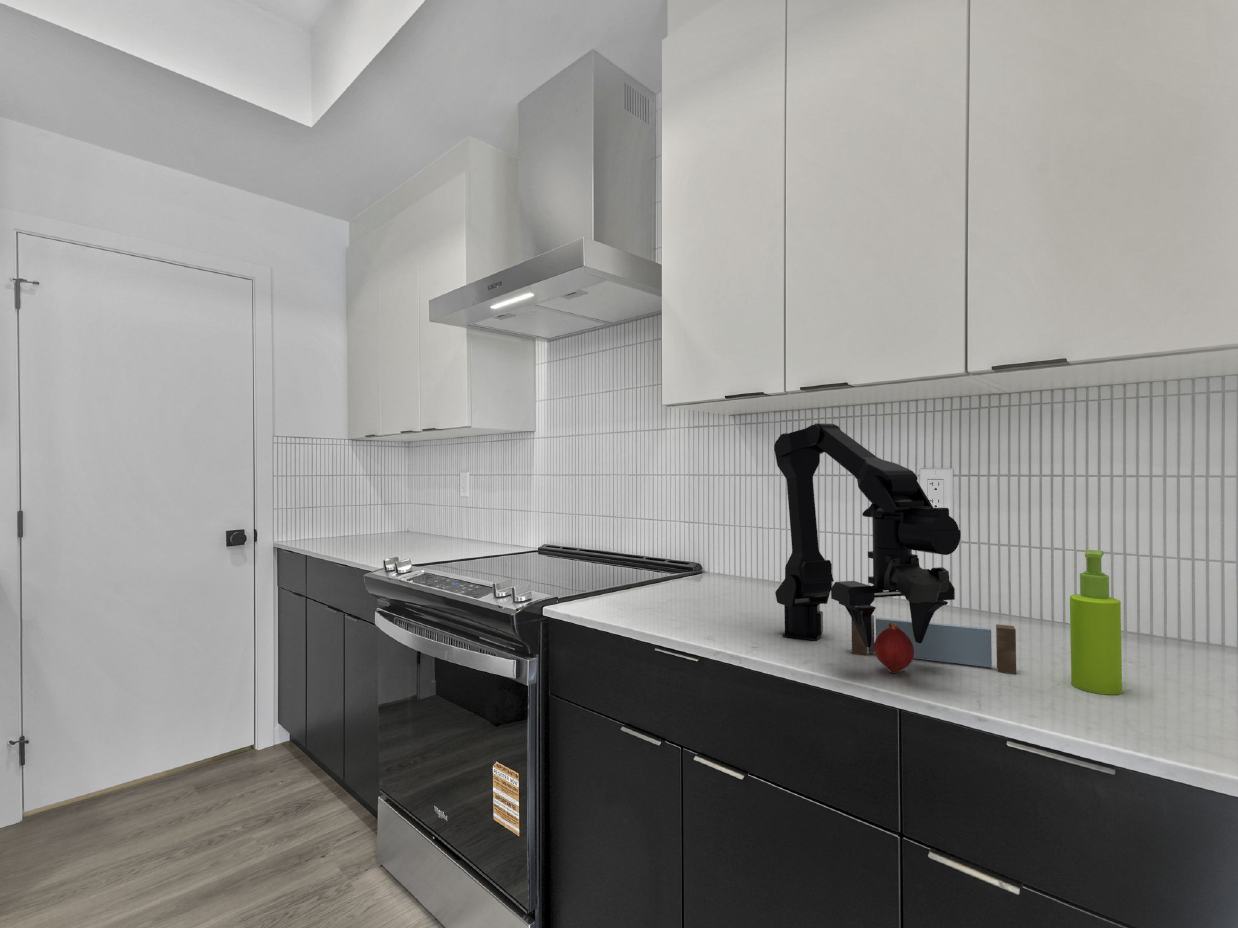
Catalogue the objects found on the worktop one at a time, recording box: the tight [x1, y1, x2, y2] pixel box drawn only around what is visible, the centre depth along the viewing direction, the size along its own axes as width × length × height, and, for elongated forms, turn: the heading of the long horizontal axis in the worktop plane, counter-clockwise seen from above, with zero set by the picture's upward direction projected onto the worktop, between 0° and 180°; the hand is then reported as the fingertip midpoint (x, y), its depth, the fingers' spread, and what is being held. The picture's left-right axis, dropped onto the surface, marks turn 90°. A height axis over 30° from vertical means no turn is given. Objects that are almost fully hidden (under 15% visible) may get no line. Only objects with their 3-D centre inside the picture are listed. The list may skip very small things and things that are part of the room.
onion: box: [874, 623, 915, 674], centre depth 96 cm, size 6×6×8 cm
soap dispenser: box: [1069, 549, 1123, 696], centre depth 89 cm, size 6×7×20 cm
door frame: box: [850, 617, 1017, 675], centre depth 101 cm, size 24×3×7 cm, turn 63°
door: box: [867, 614, 993, 668], centre depth 102 cm, size 18×1×6 cm, turn 63°
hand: (893, 644), depth 96 cm, fingers open, 9 cm apart
